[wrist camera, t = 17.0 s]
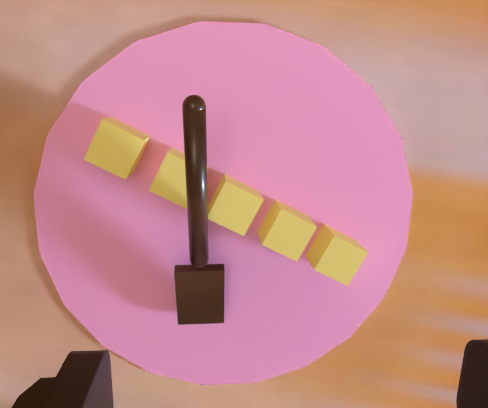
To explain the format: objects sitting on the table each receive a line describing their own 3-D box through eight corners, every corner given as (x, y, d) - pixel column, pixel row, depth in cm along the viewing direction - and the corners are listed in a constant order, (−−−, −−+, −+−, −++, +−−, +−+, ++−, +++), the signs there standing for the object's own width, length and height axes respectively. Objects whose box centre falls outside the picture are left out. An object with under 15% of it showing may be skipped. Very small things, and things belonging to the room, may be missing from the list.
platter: (133, -67, 30) (124, -88, 26) (482, 141, 36) (510, 146, 32) (-24, 303, 35) (-48, 324, 32) (298, 429, 41) (306, 458, 38)
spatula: (178, 325, 36) (180, 215, 41) (224, 324, 37) (221, 215, 42) (152, 250, 21) (161, 89, 26) (232, 248, 21) (225, 89, 26)
